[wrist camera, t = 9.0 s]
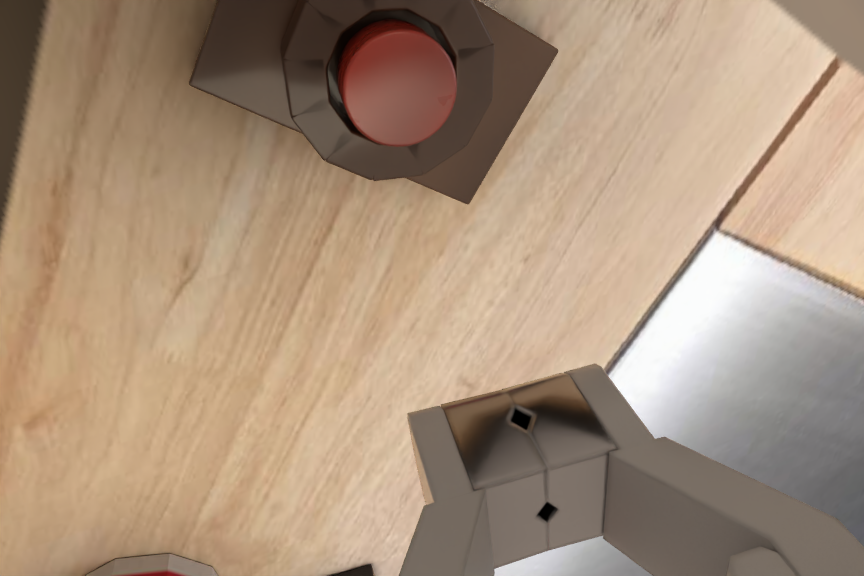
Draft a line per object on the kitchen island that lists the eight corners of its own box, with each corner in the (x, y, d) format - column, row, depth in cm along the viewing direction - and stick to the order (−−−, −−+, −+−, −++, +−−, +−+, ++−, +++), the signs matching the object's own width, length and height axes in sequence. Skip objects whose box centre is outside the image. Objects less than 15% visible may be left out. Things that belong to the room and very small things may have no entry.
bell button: (318, 103, 18) (323, 120, 17) (365, -3, 17) (375, 6, 16) (413, 146, 20) (424, 164, 18) (462, 50, 18) (478, 63, 17)
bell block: (191, 75, 19) (182, 102, 17) (263, -131, 17) (265, -133, 15) (457, 191, 24) (481, 226, 21) (544, 40, 21) (582, 60, 19)
